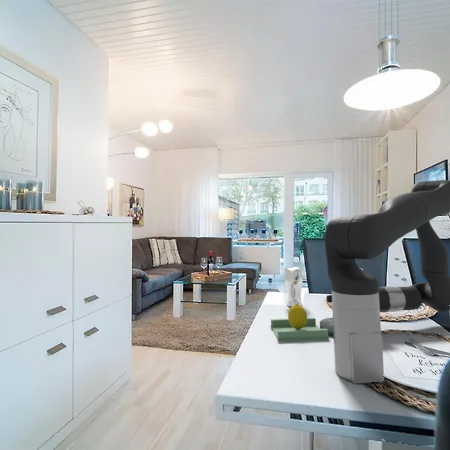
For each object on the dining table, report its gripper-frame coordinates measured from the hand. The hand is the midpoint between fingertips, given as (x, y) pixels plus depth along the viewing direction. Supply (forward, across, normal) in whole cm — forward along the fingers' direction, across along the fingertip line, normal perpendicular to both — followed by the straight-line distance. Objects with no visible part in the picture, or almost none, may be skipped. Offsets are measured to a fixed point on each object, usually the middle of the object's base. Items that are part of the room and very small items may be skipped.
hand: (332, 301), depth 92 cm
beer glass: (+2, -33, +9) cm, 34 cm away
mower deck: (-3, +1, +8) cm, 9 cm away
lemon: (+11, 0, +8) cm, 14 cm away
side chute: (+11, 0, +8) cm, 14 cm away
